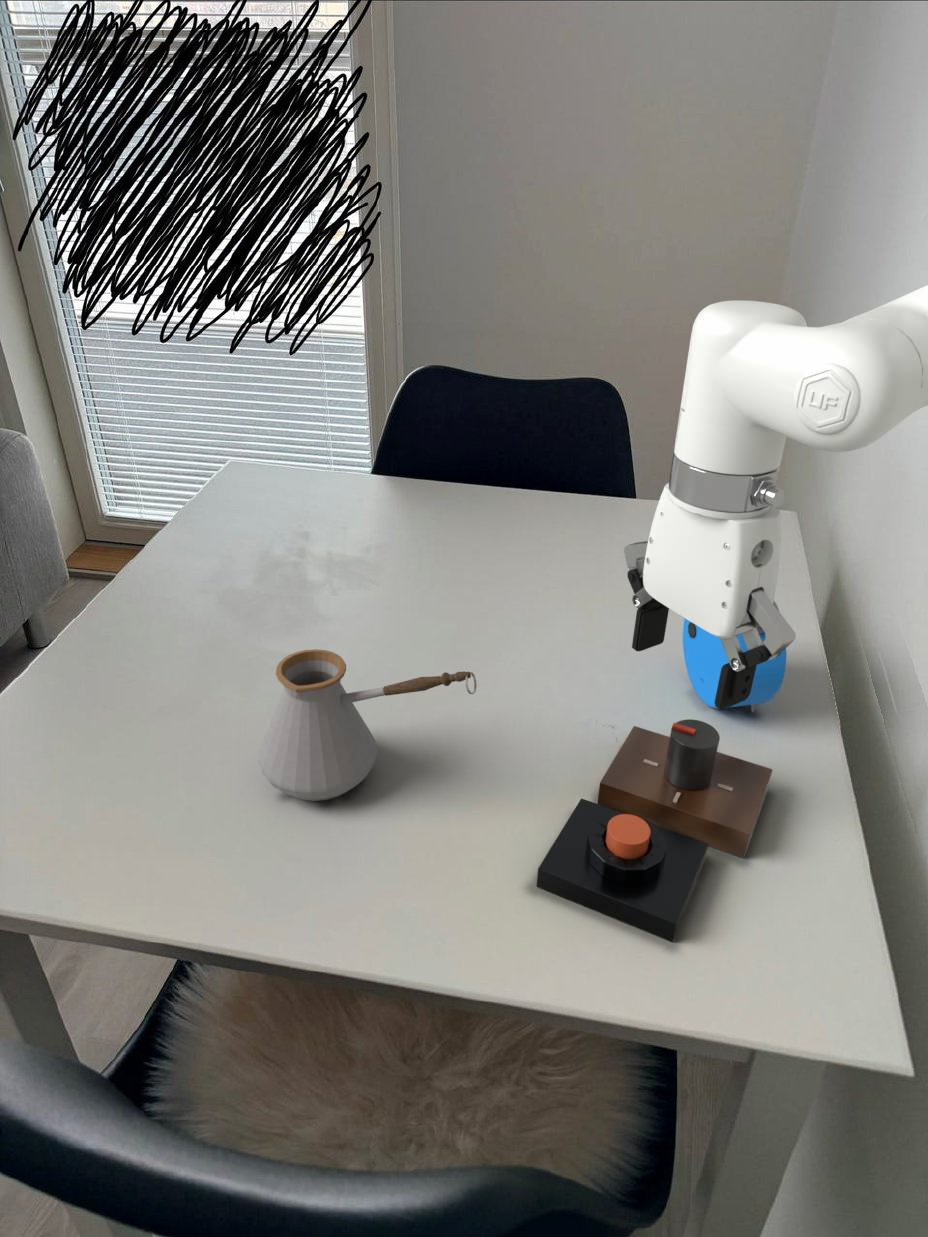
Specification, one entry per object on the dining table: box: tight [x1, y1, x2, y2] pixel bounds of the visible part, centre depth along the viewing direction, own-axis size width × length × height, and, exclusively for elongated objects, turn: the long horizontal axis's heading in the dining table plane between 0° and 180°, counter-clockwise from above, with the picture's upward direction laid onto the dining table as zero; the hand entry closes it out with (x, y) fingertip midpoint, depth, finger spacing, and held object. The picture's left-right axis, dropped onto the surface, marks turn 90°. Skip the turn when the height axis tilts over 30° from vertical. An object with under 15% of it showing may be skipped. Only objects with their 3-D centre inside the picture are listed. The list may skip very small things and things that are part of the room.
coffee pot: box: [258, 648, 477, 802], centre depth 82 cm, size 21×12×15 cm, turn 76°
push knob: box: [606, 814, 651, 859], centre depth 74 cm, size 4×4×2 cm
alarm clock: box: [682, 600, 787, 713], centre depth 96 cm, size 13×6×15 cm, turn 11°
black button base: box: [536, 797, 709, 943], centre depth 76 cm, size 12×10×4 cm
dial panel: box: [596, 725, 773, 859], centre depth 84 cm, size 14×10×3 cm
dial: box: [664, 718, 721, 790], centre depth 82 cm, size 4×4×5 cm
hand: (687, 673), depth 73 cm, fingers open, 9 cm apart
